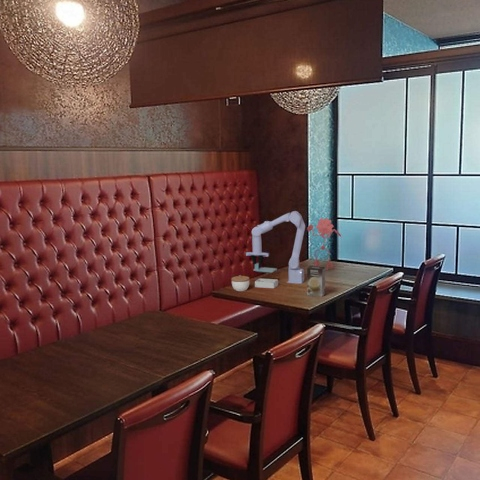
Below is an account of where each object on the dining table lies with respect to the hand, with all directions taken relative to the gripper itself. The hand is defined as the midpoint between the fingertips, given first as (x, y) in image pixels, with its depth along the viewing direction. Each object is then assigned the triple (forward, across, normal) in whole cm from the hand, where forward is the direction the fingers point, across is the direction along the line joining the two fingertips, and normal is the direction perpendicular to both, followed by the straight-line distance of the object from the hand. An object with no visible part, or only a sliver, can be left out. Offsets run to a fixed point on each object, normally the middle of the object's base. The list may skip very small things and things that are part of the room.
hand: (257, 267), depth 330 cm
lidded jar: (+10, -3, -22) cm, 24 cm away
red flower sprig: (+10, +31, +50) cm, 59 cm away
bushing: (+9, +6, -10) cm, 14 cm away
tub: (+10, +9, -10) cm, 16 cm away
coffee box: (+10, +42, -18) cm, 47 cm away
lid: (+2, +5, 0) cm, 5 cm away
